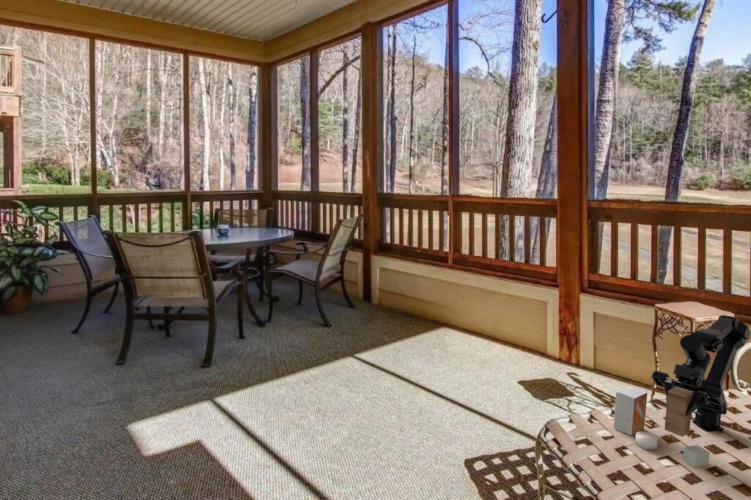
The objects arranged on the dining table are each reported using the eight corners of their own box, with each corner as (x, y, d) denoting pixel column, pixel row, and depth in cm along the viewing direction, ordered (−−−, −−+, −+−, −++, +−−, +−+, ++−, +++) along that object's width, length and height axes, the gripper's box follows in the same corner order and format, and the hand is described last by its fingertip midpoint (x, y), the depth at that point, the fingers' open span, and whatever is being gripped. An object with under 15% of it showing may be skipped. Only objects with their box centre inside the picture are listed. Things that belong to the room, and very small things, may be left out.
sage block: (696, 457, 146) (697, 444, 145) (708, 464, 142) (709, 452, 141) (682, 459, 145) (683, 447, 144) (694, 467, 141) (695, 454, 140)
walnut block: (671, 424, 151) (675, 386, 149) (689, 431, 147) (693, 392, 145) (664, 429, 148) (667, 391, 146) (682, 436, 144) (686, 397, 142)
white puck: (657, 442, 154) (657, 433, 153) (657, 451, 148) (657, 442, 148) (635, 438, 157) (635, 429, 156) (635, 447, 151) (635, 438, 151)
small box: (631, 436, 158) (634, 398, 156) (612, 428, 163) (615, 391, 161) (645, 429, 162) (647, 392, 160) (626, 421, 167) (628, 385, 165)
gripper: (656, 345, 154) (637, 388, 149) (725, 363, 139) (706, 411, 134) (665, 363, 160) (647, 404, 155) (732, 382, 145) (714, 428, 140)
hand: (676, 411), depth 146 cm, fingers closed on walnut block, 5 cm apart
